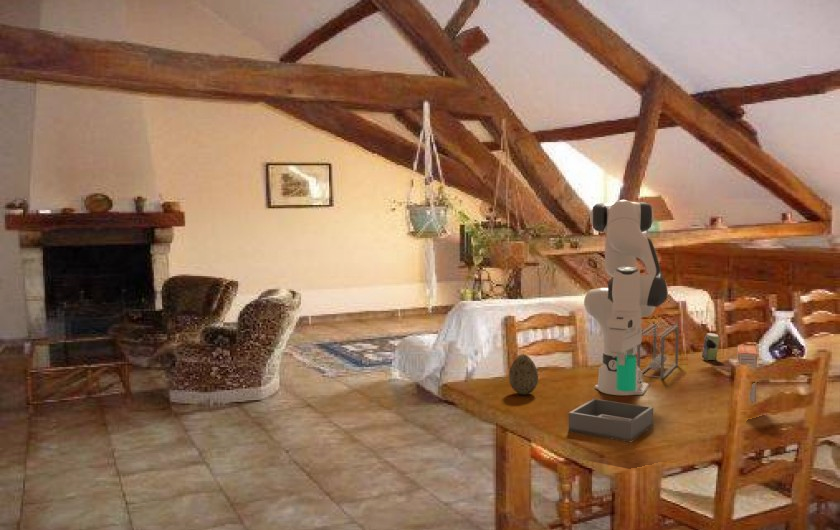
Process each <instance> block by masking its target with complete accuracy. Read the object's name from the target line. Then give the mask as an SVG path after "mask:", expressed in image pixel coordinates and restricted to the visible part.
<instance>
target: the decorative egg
mask: <svg viewBox="0 0 840 530" xmlns="http://www.w3.org/2000/svg"><path fill="white" fill-rule="evenodd" d="M508 382H509V385H510V387H511V388H512V390H513V391H515V393H517V394H519V395H524V396H525V395H529V394H531V393H532V392H533V391H534V390H535V389H536V387H537V385H538V383H539V373H538V370H537V367H536V364H535V363H534V361H533V360H532V358H531V357H530V356H528V355H527V354H525V353H524V354H519V355H518V356H517V357H515V359H514V360H513V361H512V363H511V366H510V368H509V372H508Z"/></svg>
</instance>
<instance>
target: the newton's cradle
mask: <svg viewBox="0 0 840 530" xmlns="http://www.w3.org/2000/svg"><path fill="white" fill-rule="evenodd" d="M660 327H665V328H662V329H661V331H659V329H660ZM667 327H668V328H667ZM679 330H680V329H679V326H678V325H664V324H663V325H662V324H661V325H660V324H655V323H653V324H651V325H650V326H648V327H647V328H645V329H644V330H642V336H644V337H645V336H646V337H647V336H648V339H649V341H651V343H652V344H651V343H649V344H650V345H649V346H650V347H652V348H653V351H652V349H650V351H651V353H652V354H651V357H652V360H651V361H650V362H649V364H648V365H647V366H646V367H645V368H644V369H642V370H641V344H639V345H637V346H636V347H637V349H636V353H637V354H638V357H637V359H636V365H637V366H638V367H639V369H640V370H641V371H642V377H650V378H651V377H652V378H661V379H662V380H663V379H666V377H667V376H668V375H669V374H671V372H673V371H674V370H675V369H676V368H677V366H678V362H679V336H680V335H679ZM674 331H675V350H674V351H675V355H674V357H675V361H674V364H673V363H671V364H670V363H665V362H667V360H668V359H667V358H668V357H667V355H666V354H665V348H666V343H667V341H666V340H667V338H668V336H669V335H670V334H671V333H672V332H674ZM657 333H659V334H657ZM650 337H651V339H652V340H651V339H650ZM657 340H658V342H657ZM657 346H658V347H657ZM667 365H668V366H671V367H670V368H669V369H668V370H666V372H665V371H664V370H665V369H664V367H665V366H667ZM659 368H660V376H658V375H657V376H656V375H648V374H647V375H646V374H645V373H646V372H647V371H648V370H649V369H651V370H653V371H655V370H658V369H659ZM644 372H645V373H644ZM643 373H644V374H643Z"/></svg>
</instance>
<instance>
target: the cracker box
mask: <svg viewBox="0 0 840 530" xmlns="http://www.w3.org/2000/svg"><path fill="white" fill-rule="evenodd" d="M757 355H758V354H757V350H756V346H755V345H746V344H744V345H743V344H742V345H741V344H739V345H737V360H736V361H737V364H736V365H738V364H741V363H746V364H749V365H751V366H752V367H753V368H757V367H758V363H757V362H758V360H757V359H758V356H757ZM750 402H751V403H755V402H756V403H757V381H756V382H755V383H753V384H752V388H751V392H750Z"/></svg>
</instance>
